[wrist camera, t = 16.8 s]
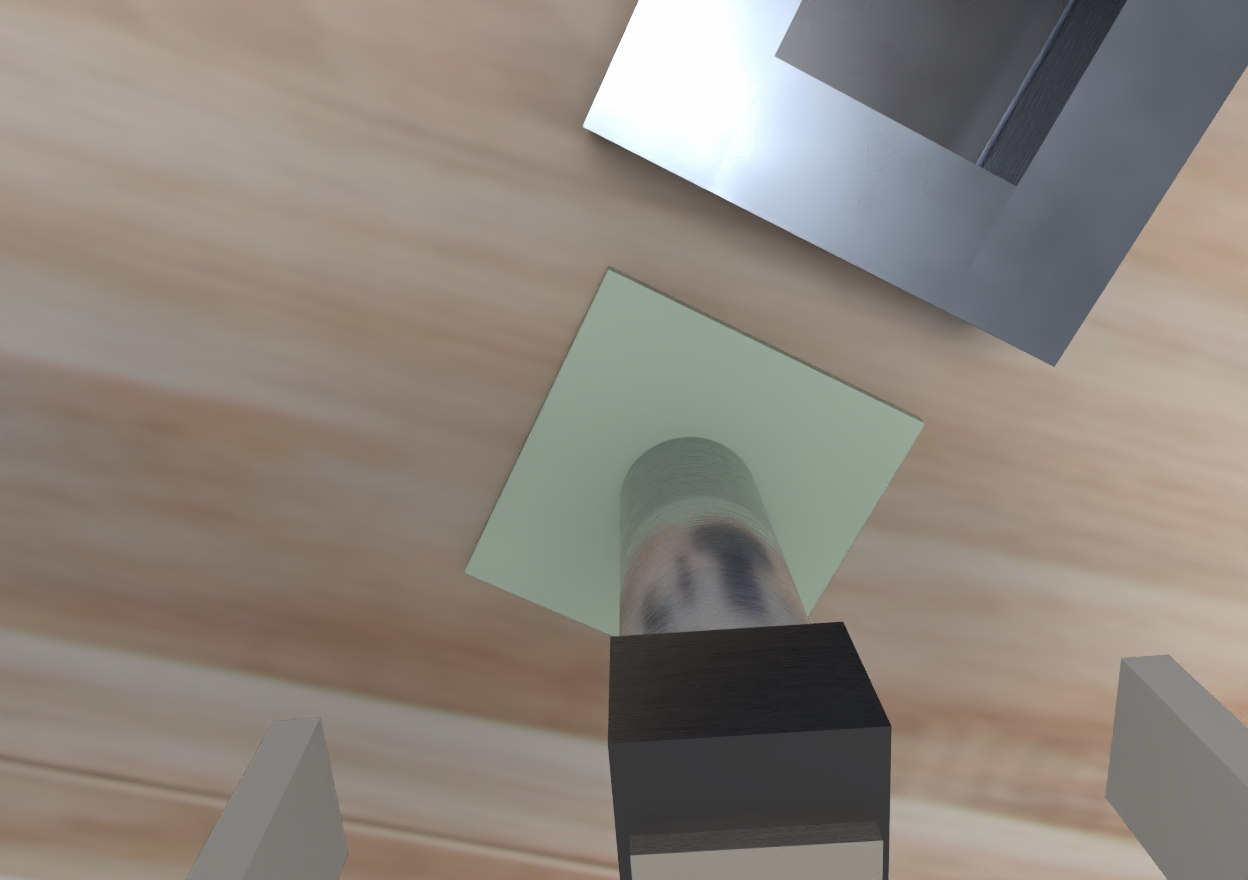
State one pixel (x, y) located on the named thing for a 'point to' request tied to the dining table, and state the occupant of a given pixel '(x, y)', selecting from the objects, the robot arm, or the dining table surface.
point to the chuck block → (936, 133)
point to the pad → (673, 408)
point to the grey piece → (733, 693)
